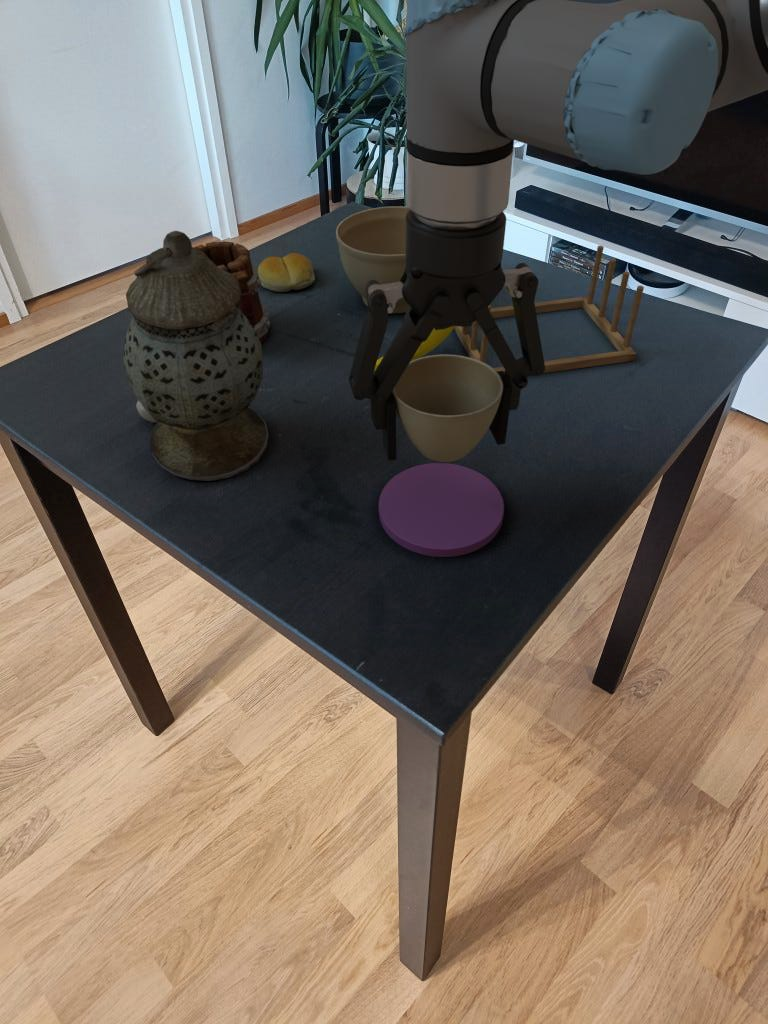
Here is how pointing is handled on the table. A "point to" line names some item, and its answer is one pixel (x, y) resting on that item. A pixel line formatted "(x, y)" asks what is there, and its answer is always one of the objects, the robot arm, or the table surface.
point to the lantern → (194, 363)
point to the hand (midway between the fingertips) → (443, 443)
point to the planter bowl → (374, 248)
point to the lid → (441, 509)
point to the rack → (586, 303)
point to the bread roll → (286, 273)
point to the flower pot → (447, 404)
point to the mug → (241, 281)
